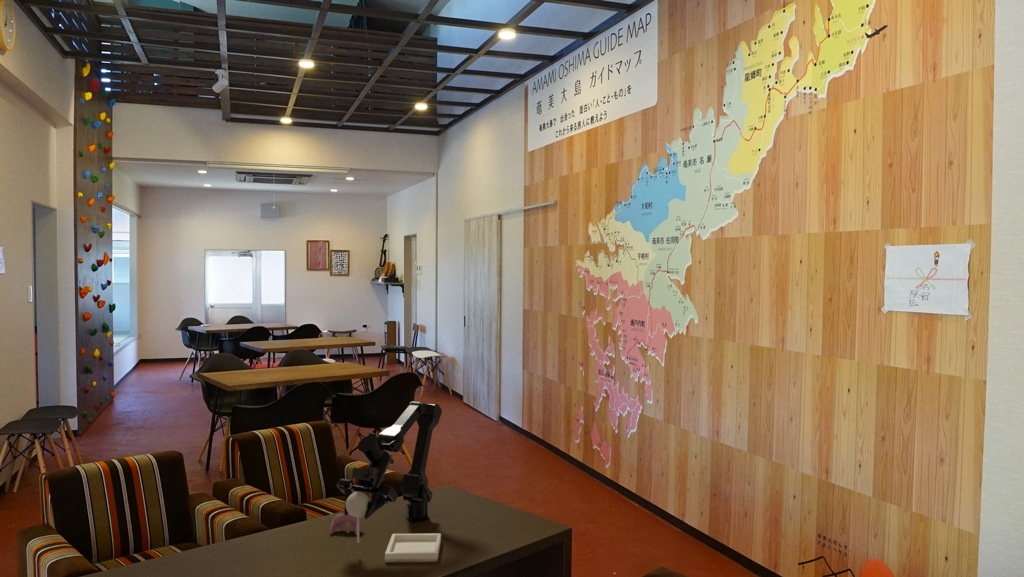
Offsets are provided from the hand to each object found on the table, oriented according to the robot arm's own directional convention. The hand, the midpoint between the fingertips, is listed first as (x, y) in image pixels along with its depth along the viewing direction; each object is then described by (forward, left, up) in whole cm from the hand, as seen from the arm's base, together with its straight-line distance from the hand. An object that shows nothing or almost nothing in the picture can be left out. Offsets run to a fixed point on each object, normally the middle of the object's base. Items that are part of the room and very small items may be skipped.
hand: (355, 516), depth 196 cm
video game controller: (-3, -20, -12) cm, 24 cm away
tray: (-17, +5, -12) cm, 21 cm away
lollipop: (-1, -1, -8) cm, 8 cm away
